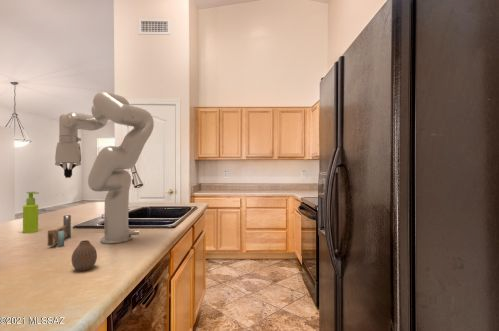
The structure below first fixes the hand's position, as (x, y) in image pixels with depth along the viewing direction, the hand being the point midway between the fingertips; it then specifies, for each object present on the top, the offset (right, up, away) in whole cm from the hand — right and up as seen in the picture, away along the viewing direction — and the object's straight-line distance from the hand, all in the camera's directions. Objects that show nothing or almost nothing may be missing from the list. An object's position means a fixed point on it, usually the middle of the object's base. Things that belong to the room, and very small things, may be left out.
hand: (68, 177), depth 133 cm
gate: (+8, -26, -18) cm, 32 cm away
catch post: (+12, -27, -22) cm, 37 cm away
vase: (+36, -27, -46) cm, 65 cm away
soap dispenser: (-20, -27, +2) cm, 34 cm away
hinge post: (+5, -27, -8) cm, 29 cm away
